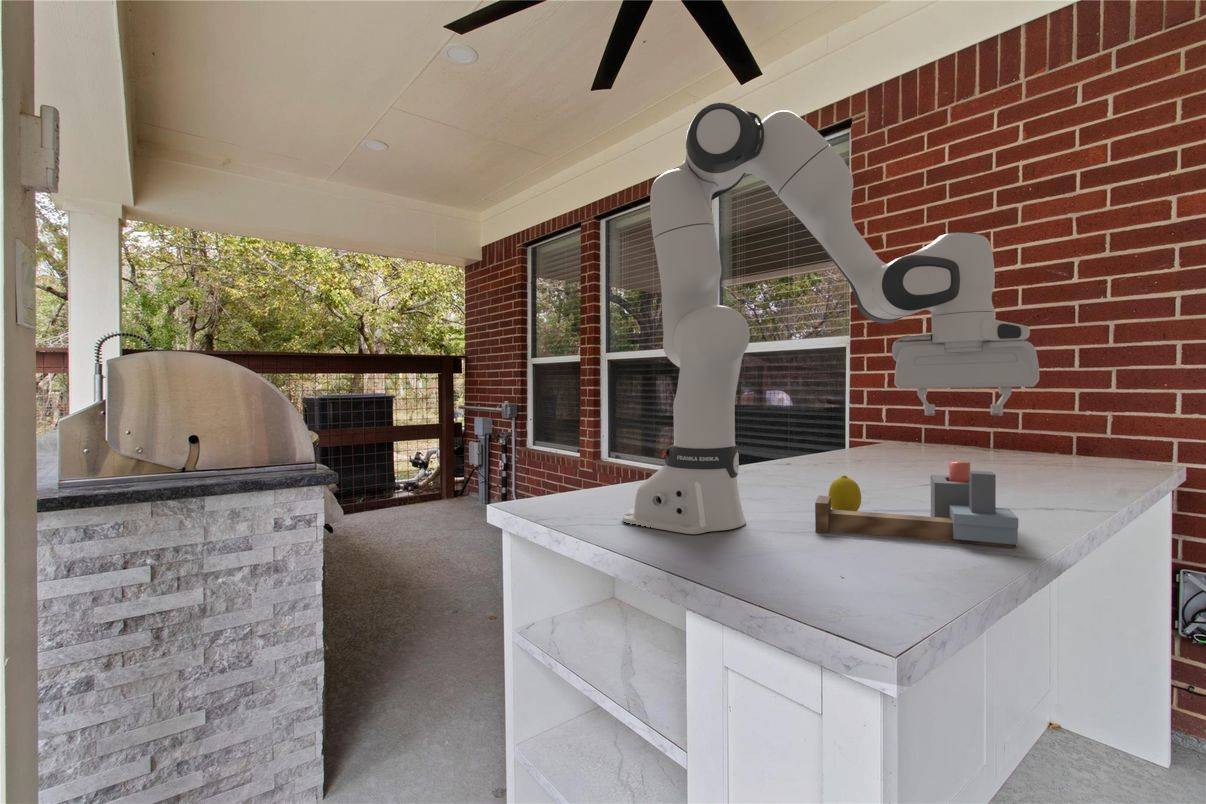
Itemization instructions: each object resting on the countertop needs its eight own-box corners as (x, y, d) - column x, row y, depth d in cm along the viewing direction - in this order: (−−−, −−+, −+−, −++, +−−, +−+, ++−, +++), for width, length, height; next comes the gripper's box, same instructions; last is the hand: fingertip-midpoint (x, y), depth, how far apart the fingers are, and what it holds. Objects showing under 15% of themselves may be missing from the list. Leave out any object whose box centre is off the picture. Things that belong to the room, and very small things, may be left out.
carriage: (954, 539, 85) (953, 474, 85) (949, 529, 91) (949, 468, 90) (1018, 545, 81) (1018, 477, 81) (1009, 533, 87) (1009, 470, 87)
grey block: (934, 530, 93) (934, 482, 93) (930, 518, 100) (930, 474, 100) (992, 534, 90) (992, 485, 89) (983, 522, 97) (983, 477, 96)
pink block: (950, 498, 94) (950, 463, 94) (948, 494, 97) (948, 460, 97) (971, 499, 93) (971, 464, 92) (968, 496, 95) (968, 461, 95)
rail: (815, 531, 94) (815, 502, 94) (818, 523, 99) (818, 495, 99) (1018, 550, 82) (1018, 516, 81) (1009, 539, 87) (1010, 507, 87)
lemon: (864, 522, 99) (864, 478, 99) (831, 522, 100) (831, 477, 100) (857, 515, 104) (856, 472, 104) (825, 514, 105) (825, 472, 105)
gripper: (892, 335, 94) (892, 416, 95) (1042, 326, 85) (1042, 416, 86) (891, 337, 100) (892, 413, 101) (1033, 329, 91) (1032, 414, 91)
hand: (962, 415), depth 93 cm, fingers open, 8 cm apart
